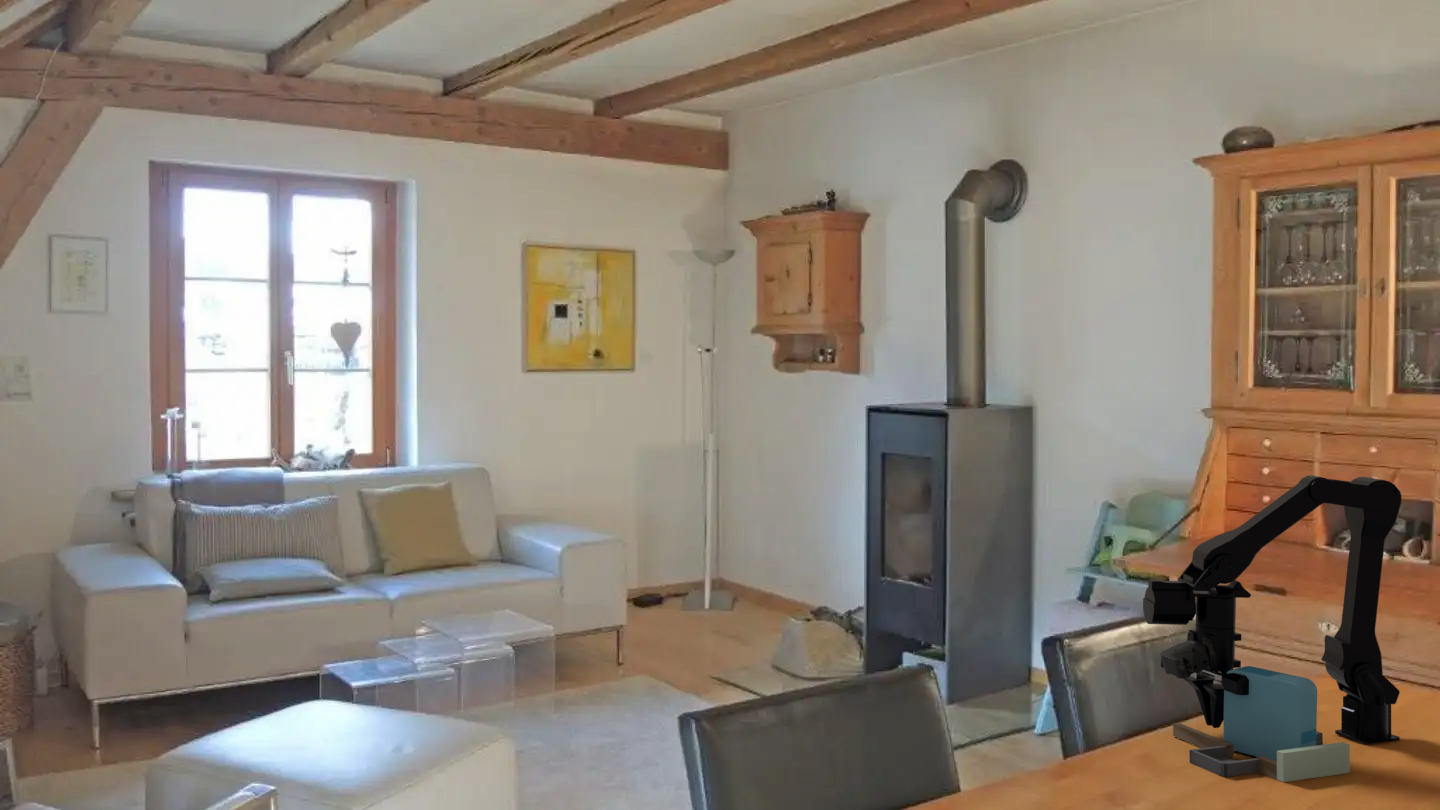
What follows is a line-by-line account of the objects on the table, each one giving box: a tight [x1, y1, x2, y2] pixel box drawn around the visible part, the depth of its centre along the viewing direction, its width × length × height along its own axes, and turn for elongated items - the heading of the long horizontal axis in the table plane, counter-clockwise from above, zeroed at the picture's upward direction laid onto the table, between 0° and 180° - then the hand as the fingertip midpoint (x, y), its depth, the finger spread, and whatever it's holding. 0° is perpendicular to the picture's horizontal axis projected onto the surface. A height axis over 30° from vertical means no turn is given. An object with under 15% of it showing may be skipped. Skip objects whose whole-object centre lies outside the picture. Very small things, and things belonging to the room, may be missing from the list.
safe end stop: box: [1276, 741, 1351, 783], centre depth 176 cm, size 11×1×4 cm, turn 108°
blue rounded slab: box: [1222, 665, 1318, 761], centre depth 185 cm, size 12×4×12 cm, turn 35°
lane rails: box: [1172, 722, 1277, 780], centre depth 187 cm, size 11×22×2 cm, turn 18°
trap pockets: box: [1188, 730, 1324, 778], centre depth 187 cm, size 24×14×2 cm, turn 108°
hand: (1213, 726), depth 195 cm, fingers closed, pressing on blue rounded slab
